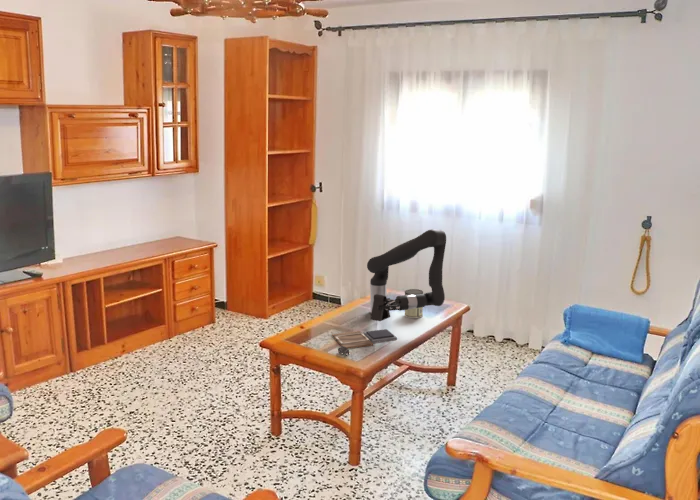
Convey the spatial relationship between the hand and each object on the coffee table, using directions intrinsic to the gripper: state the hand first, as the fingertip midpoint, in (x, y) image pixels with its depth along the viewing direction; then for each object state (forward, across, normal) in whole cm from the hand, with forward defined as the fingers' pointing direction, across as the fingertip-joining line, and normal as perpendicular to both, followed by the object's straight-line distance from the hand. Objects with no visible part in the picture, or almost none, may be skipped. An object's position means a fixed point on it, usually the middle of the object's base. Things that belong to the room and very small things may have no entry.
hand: (375, 306), depth 305 cm
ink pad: (-2, 0, +17) cm, 17 cm away
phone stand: (-2, 0, +7) cm, 7 cm away
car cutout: (+20, +19, +17) cm, 33 cm away
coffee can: (-33, -27, +17) cm, 46 cm away
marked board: (+13, 0, +16) cm, 21 cm away
